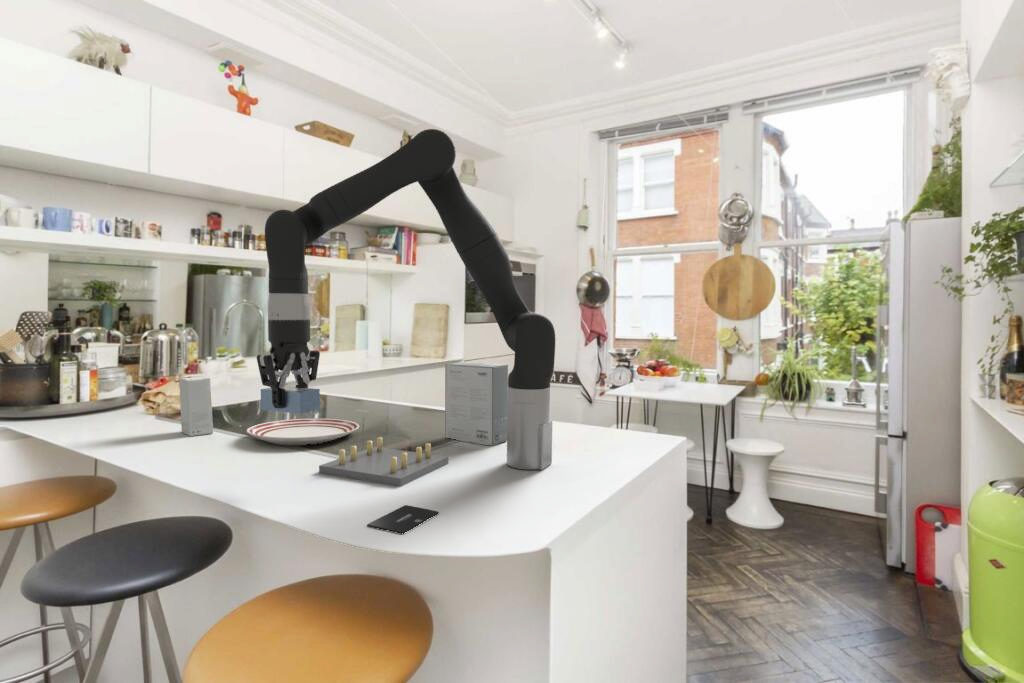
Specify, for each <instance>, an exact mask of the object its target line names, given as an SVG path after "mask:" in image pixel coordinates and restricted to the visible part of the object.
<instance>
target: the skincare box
mask: <svg viewBox="0 0 1024 683" xmlns="http://www.w3.org/2000/svg"><path fill="white" fill-rule="evenodd" d="M178 383H179V404H180V422H181V425H180V426H181V432H182V434H183V433H184V434H186V435H187V436H189V437H194V436H202V435H212V434H213V433H214V426H213V405H212V404H213V403H212V390H211V388H212V387H211V378H210V377H205V376H193V377H182V378H181V377H180V378H178Z"/></svg>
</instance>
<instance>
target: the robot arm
mask: <svg viewBox="0 0 1024 683" xmlns="http://www.w3.org/2000/svg"><path fill="white" fill-rule="evenodd" d="M456 157H457V150H456V146H455V143H454V141H453V140H452V138H451V136H450V135H449V134H447V133H446V132H444V131H442V130H440V129H436V128H428V129H424V130H422V131H420V132H418V133H417V134H415V136H414V137H413V138H411V139H410V140H408V142H406V143H405V144H404V145H402V146H400V148H398V149H397V150H396V151H393V153H392V154H389V155H388V156H386V157H384V158H383V159H382V160H380V161H379V162H378V161H377V163H375V164H373V165H371V166H369V167H367V168H365V169H363V170H362V171H360V172H358V173H356V174H353V175H351V176H349V177H347V178H344V179H342V180H340V181H339V182H337V183H335V184H334V185H331V186H329V187H327V188H326V189H324V190H321V191H320V192H318V193H316V194H315V195H313V196H312V197H311V198H310V199H309V201H308V202H307V203H306V204H304V205H302V206H301V207H299V208H297V209H296V210H295V209H294V211H292V210H289V209H279V210H275V211H273V212H272V213H271V214H270V215H269V216H268V217H267V219H266V221H265V225H264V240H265V242H264V243H265V250H266V257H267V263H268V298H267V337H268V338H267V340H268V342H270V344H271V348H270V350H269V352H268V353H266V354H258V355H257V356H256V362H257V366H258V372H259V374H260V379H261V384H262V386H265V387H267V388H271V389H272V404H273V405H274V407H275V408H280V409H281V408H284V407H285V389H283V388H284V386H286V382H287V378H289V376H290V374H292V375H293V377H294V379H295V382H296V384H295V387H300V388H309V385H310V383H311V382H312V381H316V380H317V375H318V369H319V368H318V367H319V363H320V355H321V352H320V351H319V350H310V349H309V346H308V343H309V342H310V341H311V306H310V304H311V303H310V299H309V298H310V297H309V275H308V274H309V273H308V268H307V266H306V262H305V261H306V259H305V258H306V257H305V256H306V254H305V253H306V252H305V250H306V249H305V247H307V246H309V245H310V244H312V243H313V242H315V241H316V240H317V239H319V238H321V237H322V236H324V235H325V234H326V233H328V232H329V231H331V230H332V229H335V228H337V227H339V226H341V225H343V224H345V223H348V222H349V221H351V220H352V219H355V218H356V217H358V216H360V215H362V214H363V213H365V212H367V211H369V209H371V208H373V207H374V206H376V205H377V204H379V203H380V202H382V201H383V200H385V199H386V198H388V197H390V196H391V195H392V194H394V193H396V192H397V191H400V190H401V189H403V188H405V187H408V186H410V185H412V184H414V183H418V184H419V186H420V187H421V189H422V190H423V191H424V193H425V194H426V195H427V197H428V199H429V200H430V201H431V204H432V205H433V207H434V208H435V209H436V211H437V213H438V215H439V218H440V220H441V222H442V224H443V226H444V228H445V230H446V233H447V234H448V237H449V238H450V240H451V242H452V244H453V246H454V248H455V250H456V252H457V254H458V256H459V257H460V260H461V261H462V263H463V264H464V267H465V268H466V270H467V272H468V273H469V274H470V276H471V278H472V280H473V281H474V283H475V284H476V286H477V288H478V290H479V291H480V292H481V294H482V296H483V297H484V299H485V301H486V302H487V304H488V306H489V307H490V309H491V312H492V314H493V316H494V318H495V321H496V323H497V324H498V325H497V326H498V328H499V330H500V332H501V335H502V337H503V340H504V342H505V343H506V345H507V346H508V348H509V349H511V351H513V352H514V363H513V368H512V370H511V371H510V372H509V373H508V418H507V441H506V464H507V466H509V467H510V468H513V469H519V470H541V471H542V470H544V469H546V468H548V466H550V465H551V464H552V460H553V421H552V420H550V413H551V412H550V408H551V407H550V405H551V404H550V403H551V402H550V400H551V399H550V398H551V381H552V380H551V379H552V377H553V375H554V370H555V358H556V357H555V356H556V333H555V332H556V330H555V327H554V325H553V323H552V321H551V320H550V319H549V318H548V317H547V316H545V315H544V314H541V313H532V312H531V311H530V309H529V308H528V306H527V305H526V304H525V302H524V300H523V298H522V297H521V295H520V292H519V291H518V288H517V285H516V283H515V280H514V279H515V278H514V274H513V269H512V265H511V261H510V257H509V253H507V249H506V247H505V245H504V243H503V242H502V239H501V238H500V236H499V234H498V233H497V230H496V229H495V228H494V226H493V225H492V223H491V221H490V220H489V219H488V217H487V216H486V215H485V214H484V213H483V212H482V210H481V209H480V208H479V207H478V205H476V204H475V202H474V201H473V200H472V199H471V197H470V196H469V195H468V193H467V192H466V190H465V189H464V186H463V185H462V182H461V181H460V179H459V177H458V174H457V172H456V170H455V167H454V164H455V160H456Z"/></svg>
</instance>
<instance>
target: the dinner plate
mask: <svg viewBox="0 0 1024 683" xmlns="http://www.w3.org/2000/svg"><path fill="white" fill-rule="evenodd" d="M359 428H360V425H359V424H358V423H357V422H355V421H350V420H345V419H337V418H335V419H334V418H296V419H295V418H294V419H281V420H274V421H268V422H263V423H259V424H256V425H253V426H250V427H248V428H247V429H246V433H247V434H248V435H249V436H251V437H253V438H255V439H258V440H261V441H265V442H268V443H270V444H274V445H279V446H307V444H311V445H317V443H319V444H324V443H323V442H326V443H328V442H327V441H330V442H332V441H331V440H334V439H337V438H339V439H340V438H342V437H345V436H347V435H350V434H351V433H353V432H355V431H356V430H358V429H359ZM337 440H338V439H337ZM334 441H335V440H334Z"/></svg>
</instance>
